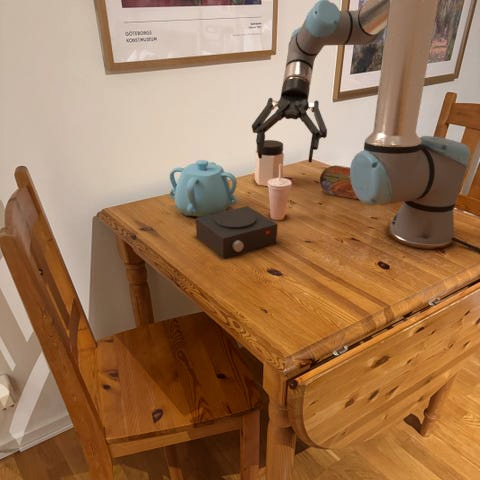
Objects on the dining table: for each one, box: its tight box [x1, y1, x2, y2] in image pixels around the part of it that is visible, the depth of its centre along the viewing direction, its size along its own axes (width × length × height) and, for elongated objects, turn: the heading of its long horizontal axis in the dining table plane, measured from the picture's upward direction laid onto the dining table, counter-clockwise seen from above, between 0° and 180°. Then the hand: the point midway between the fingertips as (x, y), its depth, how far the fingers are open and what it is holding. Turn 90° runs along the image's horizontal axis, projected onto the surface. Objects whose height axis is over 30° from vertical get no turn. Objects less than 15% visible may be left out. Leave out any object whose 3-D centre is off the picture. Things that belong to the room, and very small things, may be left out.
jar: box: [254, 139, 285, 187], centre depth 139 cm, size 9×8×12 cm
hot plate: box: [195, 205, 279, 259], centre depth 107 cm, size 14×15×6 cm
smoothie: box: [266, 164, 293, 221], centre depth 116 cm, size 6×6×14 cm
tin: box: [319, 164, 359, 200], centre depth 132 cm, size 15×3×8 cm, turn 63°
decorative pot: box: [169, 159, 239, 218], centre depth 119 cm, size 16×16×14 cm
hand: (284, 158), depth 118 cm, fingers open, 13 cm apart
